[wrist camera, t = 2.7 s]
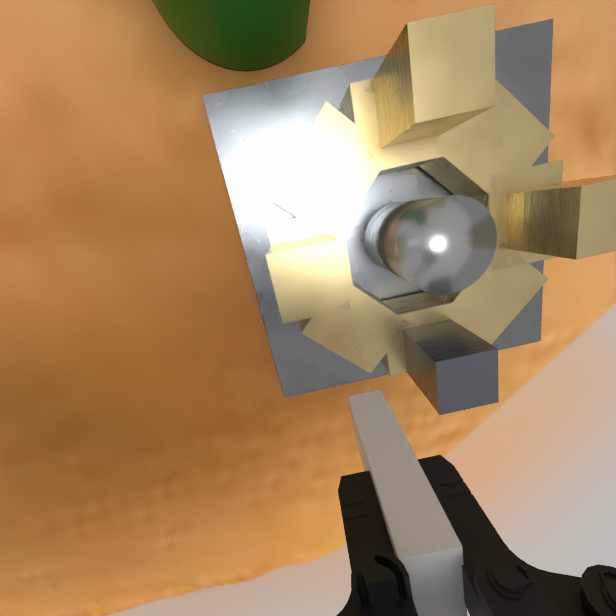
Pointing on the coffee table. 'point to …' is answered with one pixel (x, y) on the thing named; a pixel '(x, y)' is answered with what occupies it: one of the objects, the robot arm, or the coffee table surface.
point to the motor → (238, 29)
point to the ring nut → (452, 175)
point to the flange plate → (368, 203)
